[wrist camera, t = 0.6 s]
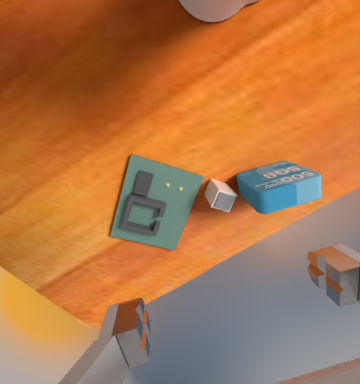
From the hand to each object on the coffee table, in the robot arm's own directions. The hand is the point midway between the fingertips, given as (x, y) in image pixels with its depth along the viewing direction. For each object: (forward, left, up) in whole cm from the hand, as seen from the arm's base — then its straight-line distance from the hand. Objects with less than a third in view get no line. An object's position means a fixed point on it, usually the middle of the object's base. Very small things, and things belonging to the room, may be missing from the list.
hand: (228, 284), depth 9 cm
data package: (-1, +20, -35) cm, 41 cm away
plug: (+5, +11, -35) cm, 37 cm away
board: (+13, -1, -35) cm, 38 cm away
